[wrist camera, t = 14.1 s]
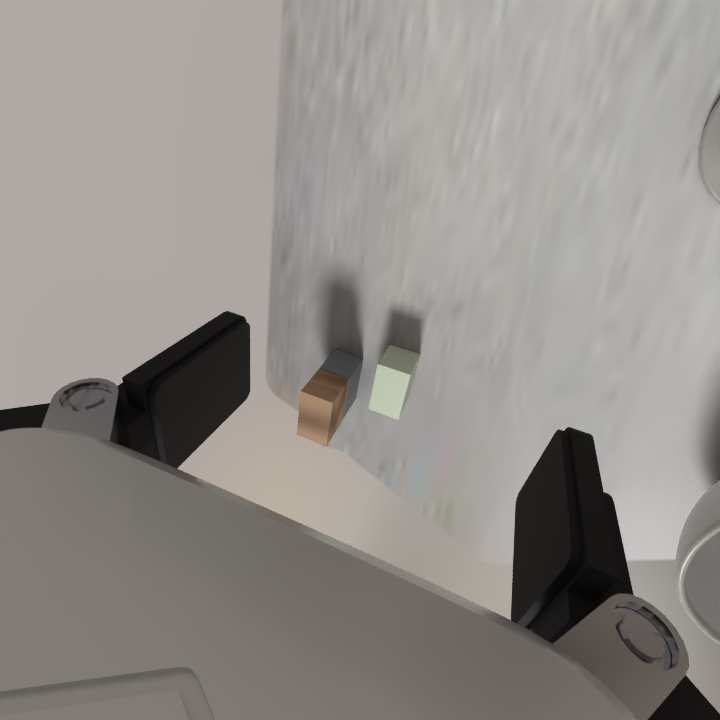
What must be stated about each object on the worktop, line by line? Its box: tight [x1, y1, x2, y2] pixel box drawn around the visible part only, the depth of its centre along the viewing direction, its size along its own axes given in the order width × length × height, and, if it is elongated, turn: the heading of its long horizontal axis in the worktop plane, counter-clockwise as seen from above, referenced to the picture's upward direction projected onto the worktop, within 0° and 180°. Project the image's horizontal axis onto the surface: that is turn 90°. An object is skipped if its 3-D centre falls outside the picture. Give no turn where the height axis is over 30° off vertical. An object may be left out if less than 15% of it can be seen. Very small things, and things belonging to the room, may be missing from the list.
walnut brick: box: [297, 369, 349, 446], centre depth 49 cm, size 7×4×5 cm, turn 171°
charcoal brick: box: [320, 349, 363, 420], centre depth 53 cm, size 7×4×5 cm, turn 171°
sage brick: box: [368, 345, 420, 420], centre depth 50 cm, size 7×4×5 cm, turn 172°
